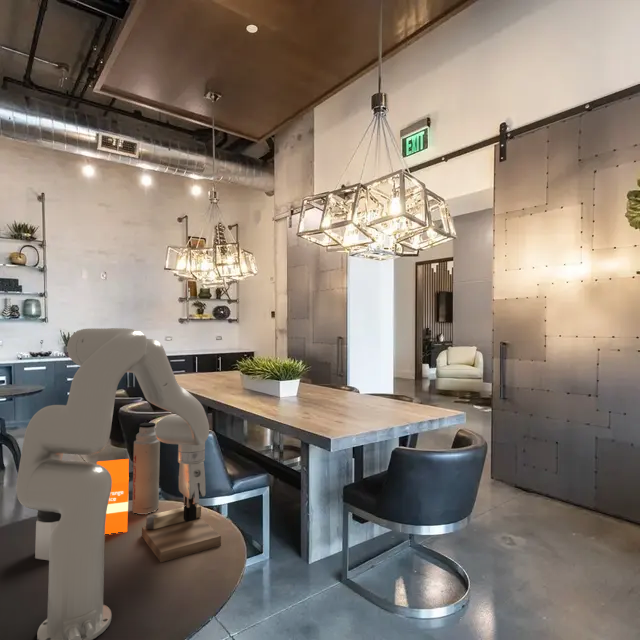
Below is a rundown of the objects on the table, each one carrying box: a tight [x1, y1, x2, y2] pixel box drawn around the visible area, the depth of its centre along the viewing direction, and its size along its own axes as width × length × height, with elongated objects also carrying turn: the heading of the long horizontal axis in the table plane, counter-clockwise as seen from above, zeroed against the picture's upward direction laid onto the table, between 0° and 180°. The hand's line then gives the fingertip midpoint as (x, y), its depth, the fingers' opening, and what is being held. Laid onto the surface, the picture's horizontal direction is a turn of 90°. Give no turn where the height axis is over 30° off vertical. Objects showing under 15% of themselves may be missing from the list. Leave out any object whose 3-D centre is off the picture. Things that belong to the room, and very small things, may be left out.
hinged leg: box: [145, 503, 202, 530], centre depth 129 cm, size 16×3×3 cm, turn 129°
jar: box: [34, 510, 61, 561], centre depth 116 cm, size 9×8×12 cm
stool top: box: [141, 517, 222, 563], centre depth 124 cm, size 18×16×2 cm
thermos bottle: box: [131, 422, 161, 514], centre depth 146 cm, size 8×8×28 cm
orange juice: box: [96, 458, 130, 535], centre depth 131 cm, size 8×9×20 cm
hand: (189, 519), depth 129 cm, fingers closed
